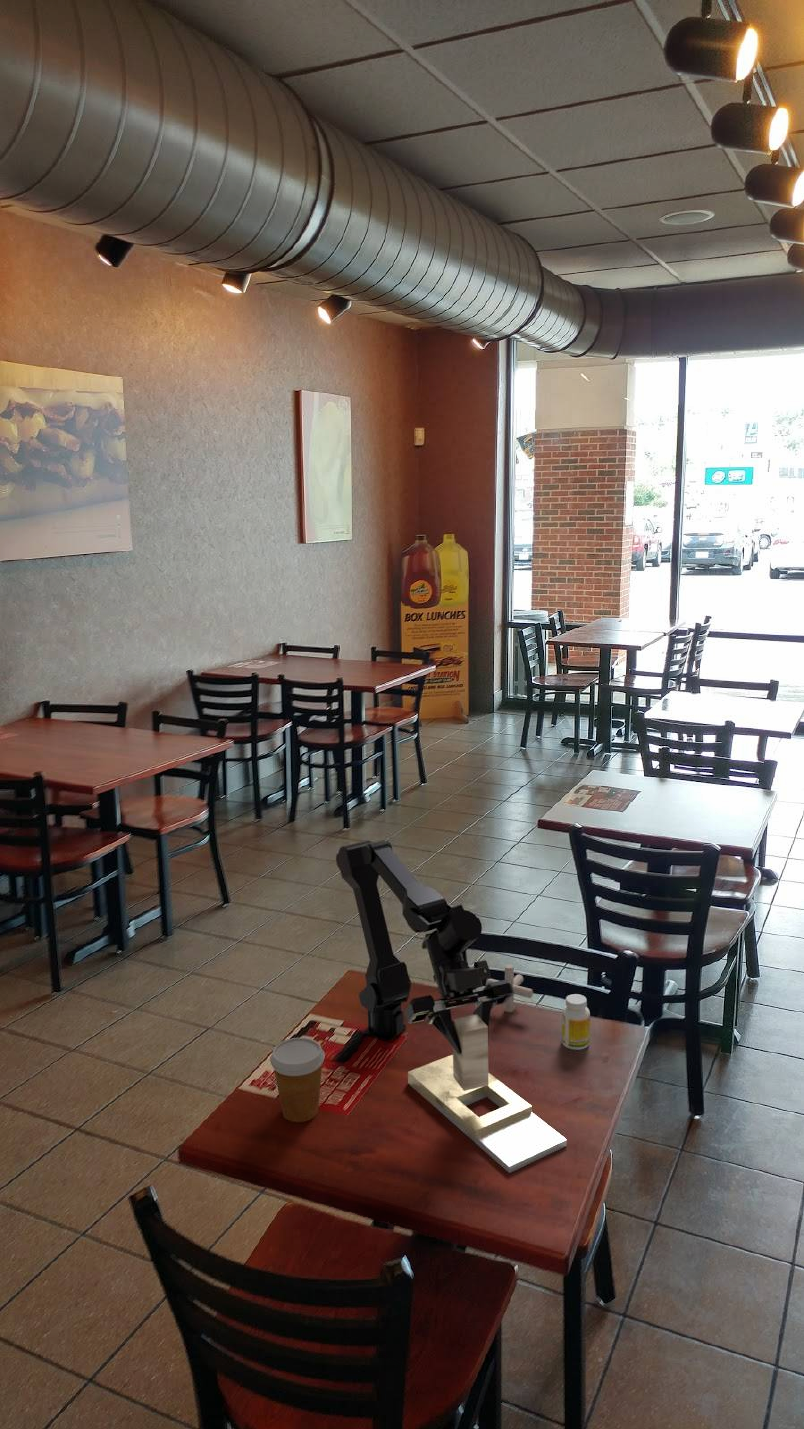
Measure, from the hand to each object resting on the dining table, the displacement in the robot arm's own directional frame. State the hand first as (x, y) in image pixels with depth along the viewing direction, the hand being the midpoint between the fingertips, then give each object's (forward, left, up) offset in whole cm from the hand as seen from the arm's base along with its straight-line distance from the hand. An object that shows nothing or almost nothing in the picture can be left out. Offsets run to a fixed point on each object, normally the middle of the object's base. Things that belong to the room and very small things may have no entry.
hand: (473, 1050), depth 169 cm
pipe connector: (-12, +37, -14) cm, 41 cm away
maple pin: (-1, +1, -7) cm, 7 cm away
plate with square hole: (0, +3, -14) cm, 14 cm away
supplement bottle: (+5, +32, -14) cm, 35 cm away
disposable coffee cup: (-28, -13, -14) cm, 34 cm away
